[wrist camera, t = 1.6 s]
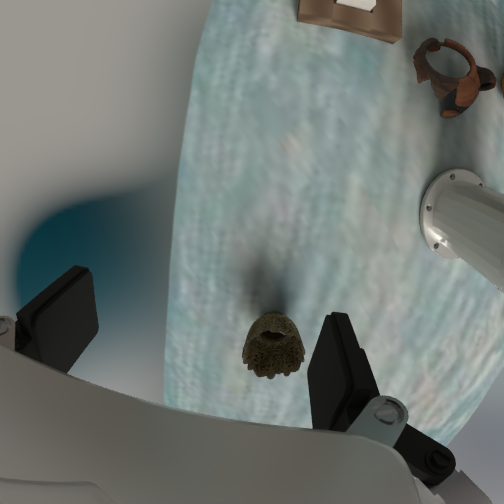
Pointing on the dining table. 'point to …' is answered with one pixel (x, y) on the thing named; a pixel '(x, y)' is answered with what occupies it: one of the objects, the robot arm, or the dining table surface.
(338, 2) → the button
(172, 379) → the dining table surface
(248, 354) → the dark tapered rough piece
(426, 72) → the pottery mug
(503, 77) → the decorative figurine
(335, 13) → the button board
